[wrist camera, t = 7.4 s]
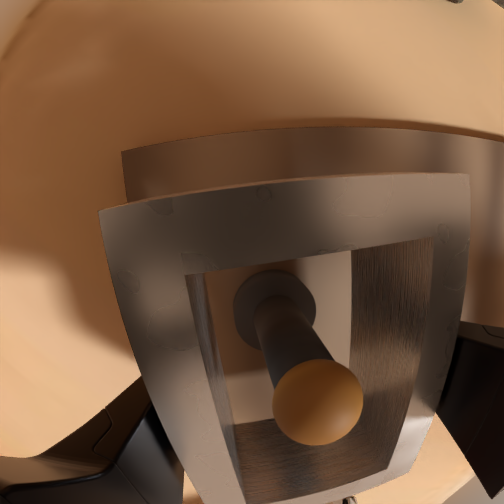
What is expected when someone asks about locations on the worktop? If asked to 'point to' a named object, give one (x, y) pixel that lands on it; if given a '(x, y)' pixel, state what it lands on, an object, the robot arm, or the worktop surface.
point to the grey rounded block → (345, 501)
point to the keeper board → (316, 262)
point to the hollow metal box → (362, 319)
